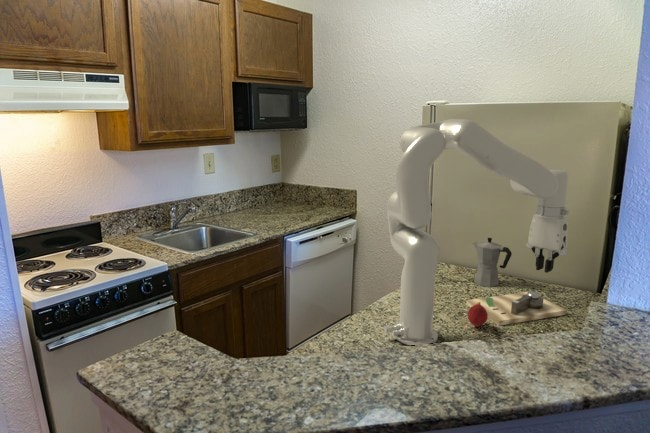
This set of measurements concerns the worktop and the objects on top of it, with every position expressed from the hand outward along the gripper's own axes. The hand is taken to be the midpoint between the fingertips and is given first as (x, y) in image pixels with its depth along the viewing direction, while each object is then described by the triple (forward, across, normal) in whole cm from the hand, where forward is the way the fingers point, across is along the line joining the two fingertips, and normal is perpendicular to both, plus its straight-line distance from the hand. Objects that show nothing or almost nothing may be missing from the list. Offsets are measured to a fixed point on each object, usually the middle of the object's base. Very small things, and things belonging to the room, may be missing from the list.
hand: (543, 269), depth 142 cm
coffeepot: (+17, +29, -18) cm, 38 cm away
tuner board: (+17, +10, -3) cm, 20 cm away
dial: (+15, +6, -3) cm, 17 cm away
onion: (+17, +10, +18) cm, 27 cm away
